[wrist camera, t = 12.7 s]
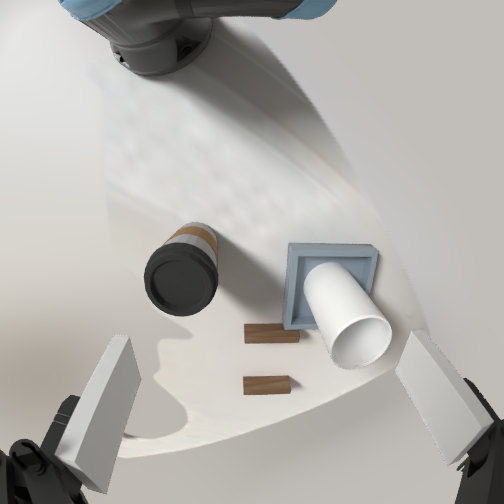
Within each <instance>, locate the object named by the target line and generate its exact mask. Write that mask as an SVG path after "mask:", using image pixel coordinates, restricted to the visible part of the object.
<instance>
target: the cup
mask: <svg viewBox="0 0 504 504" xmlns="http://www.w3.org/2000/svg"><path fill="white" fill-rule="evenodd" d="M303 289H304V294H305V297H306V299H307V301H308V304H309V306H310V309H311V311H312V313H313V316H314V318H315V321H316V323H317V325H318V328H319V330H320V333H321V335H322V338H323V340H324V343H325V345H326V347H327V350H328V352H329V355H330V357H331V359H332V361H333V362H334V364H335V365H337V366H338V367H340V368H343V369H358V368H362V367H365V366H367V365H369V364H371V363H373V362H374V361H376V360H377V359H378V358H379V357H381V356H382V354H383V353H384V352H385V351H386V349H387V348H388V346H389V344H390V342H391V338H392V329H391V326H390V324H389V322H388V321H387V320H386V318H385V317H384V316H383V314H382V313H381V312H380V310H379V309H378V308H377V307H376V305H375V304H374V303H373V301H372V300H371V299H370V298H369V296H368V295H367V294H366V293H365V291H364V290H363V289H362V287H361V286H360V285H359V284H358V282H357V281H356V280H355V279H354V278H353V276H352V275H351V274H350V273H349V271H348V270H347V269H346V268H345V267H344V266H343V265H341V264H339V263H335V262H327V263H323V264H320V265H318V266H316V267H315V268H313V269H312V270H311V271H310V272H309V274H308V275H307V277H306V279H305V281H304V287H303Z"/></svg>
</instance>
